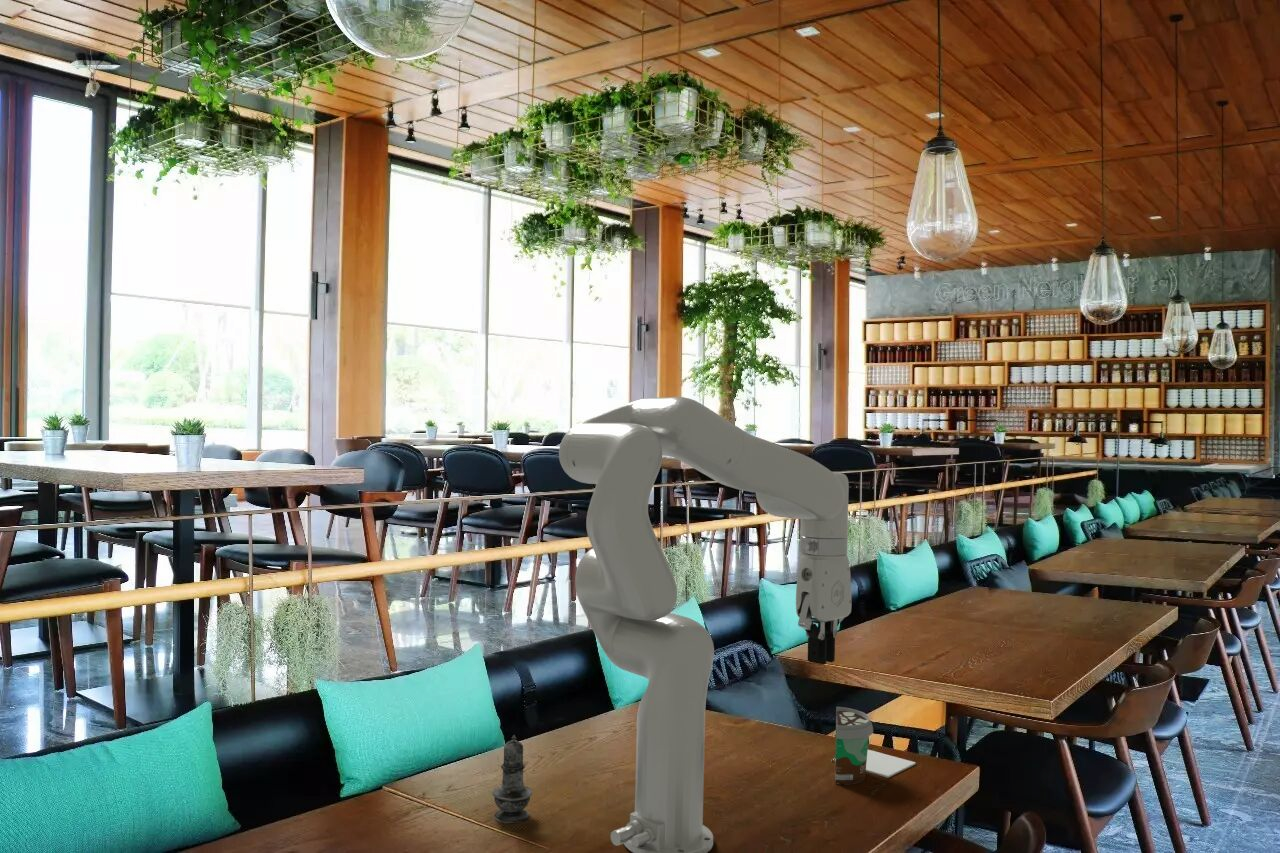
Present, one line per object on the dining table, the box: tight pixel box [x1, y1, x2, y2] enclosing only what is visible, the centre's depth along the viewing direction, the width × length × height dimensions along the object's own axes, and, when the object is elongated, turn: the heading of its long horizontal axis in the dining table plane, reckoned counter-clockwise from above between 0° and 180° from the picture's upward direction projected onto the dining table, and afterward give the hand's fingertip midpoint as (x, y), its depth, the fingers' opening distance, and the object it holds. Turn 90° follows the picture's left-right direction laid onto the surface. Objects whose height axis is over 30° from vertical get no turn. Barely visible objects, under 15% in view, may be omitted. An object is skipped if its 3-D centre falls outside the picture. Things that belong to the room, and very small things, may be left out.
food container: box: [834, 706, 874, 785], centre depth 160 cm, size 12×6×10 cm, turn 168°
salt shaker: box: [492, 734, 533, 824], centre depth 139 cm, size 6×6×12 cm
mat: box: [832, 749, 917, 779], centre depth 166 cm, size 10×11×1 cm
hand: (821, 661), depth 152 cm, fingers closed
